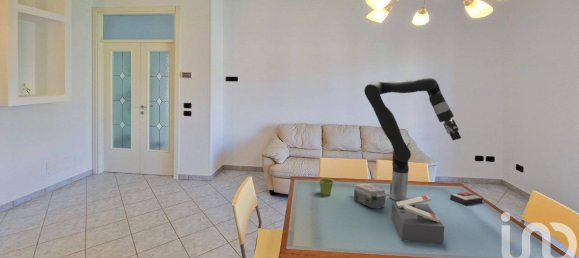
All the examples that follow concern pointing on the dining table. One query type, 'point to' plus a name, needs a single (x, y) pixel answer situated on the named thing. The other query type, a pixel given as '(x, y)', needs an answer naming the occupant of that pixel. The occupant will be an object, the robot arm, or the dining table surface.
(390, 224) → the dining table surface
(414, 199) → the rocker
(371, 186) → the grey boxy piece
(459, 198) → the calculator
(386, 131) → the robot arm
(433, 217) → the rocker
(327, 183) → the plant pot
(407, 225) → the rocker switch panel
